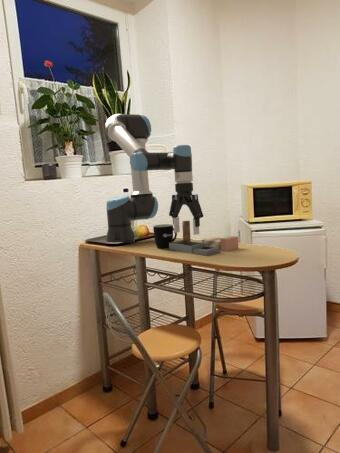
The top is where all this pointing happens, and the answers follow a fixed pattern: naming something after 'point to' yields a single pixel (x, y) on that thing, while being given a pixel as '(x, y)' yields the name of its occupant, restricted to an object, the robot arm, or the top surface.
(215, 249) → the socket
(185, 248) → the tray
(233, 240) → the block
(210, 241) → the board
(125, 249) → the top surface
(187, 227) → the dowel
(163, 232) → the mug
